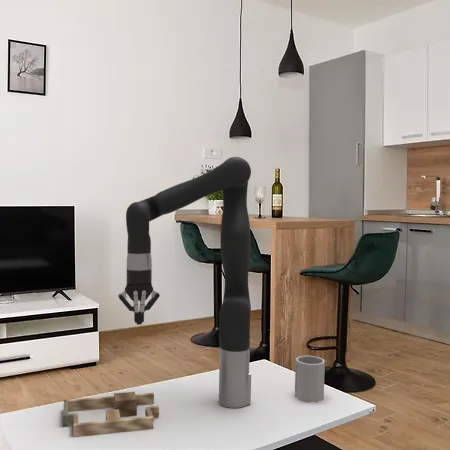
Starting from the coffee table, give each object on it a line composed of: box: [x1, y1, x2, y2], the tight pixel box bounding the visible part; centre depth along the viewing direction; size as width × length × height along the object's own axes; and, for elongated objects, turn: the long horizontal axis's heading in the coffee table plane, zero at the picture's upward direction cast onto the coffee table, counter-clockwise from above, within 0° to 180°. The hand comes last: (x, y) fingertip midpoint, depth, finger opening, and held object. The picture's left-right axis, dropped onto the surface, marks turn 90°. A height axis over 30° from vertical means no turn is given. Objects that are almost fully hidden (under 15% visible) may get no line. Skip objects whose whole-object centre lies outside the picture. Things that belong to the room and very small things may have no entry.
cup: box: [294, 355, 326, 403], centre depth 167 cm, size 9×9×12 cm
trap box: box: [62, 392, 160, 438], centre depth 148 cm, size 26×18×3 cm
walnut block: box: [113, 391, 138, 418], centre depth 153 cm, size 6×6×5 cm
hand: (138, 324), depth 160 cm, fingers closed
